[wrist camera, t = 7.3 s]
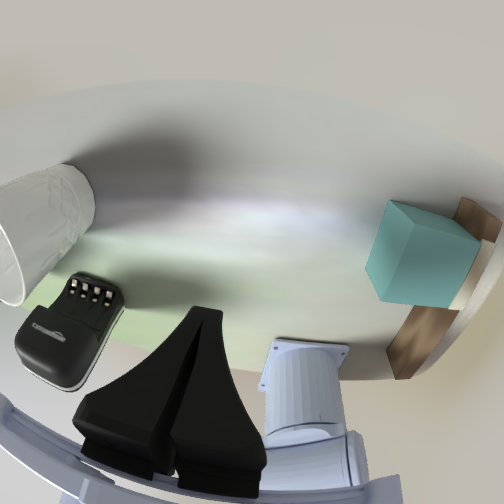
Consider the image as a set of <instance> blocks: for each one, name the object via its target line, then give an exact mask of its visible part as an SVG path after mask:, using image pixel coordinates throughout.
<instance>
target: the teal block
mask: <svg viewBox="0 0 504 504" xmlns="http://www.w3.org/2000/svg"><path fill="white" fill-rule="evenodd" d="M480 246H481V243H480V242H479V241H478V240H477V239H476V238H475V237H473V236H472V235H471V234H470V233H469V232H468V231H466V230H465V229H464V228H463V227H462V226H460V225H459V224H458V223H457V222H456V221H454V220H453V219H450V218H447V217H444V216H441V215H438V214H435V213H432V212H428V211H425V210H422V209H419V208H415V207H412V206H409V205H405V204H402V203H398V202H395V201H391V200H389V201H388V204H387V208H386V211H385V214H384V217H383V220H382V223H381V226H380V228H379V231H378V234H377V237H376V240H375V242H374V245H373V248H372V251H371V253H370V256H369V258H368V261H367V264H366V266H365V270H366V272H367V274H368V276H369V278H370V280H371V282H372V284H373V286H374V288H375V290H376V292H377V294H378V297H379V299H380V301H381V302H390V303H400V304H409V305H419V306H429V307H440V308H449V306H450V304H451V303H452V301H453V299H454V298H455V296H456V294H457V292H458V290H459V289H460V287H461V285H462V283H463V281H464V279H465V277H466V275H467V273H468V271H469V269H470V267H471V265H472V263H473V261H474V259H475V257H476V255H477V253H478V250H479V248H480Z"/></svg>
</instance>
